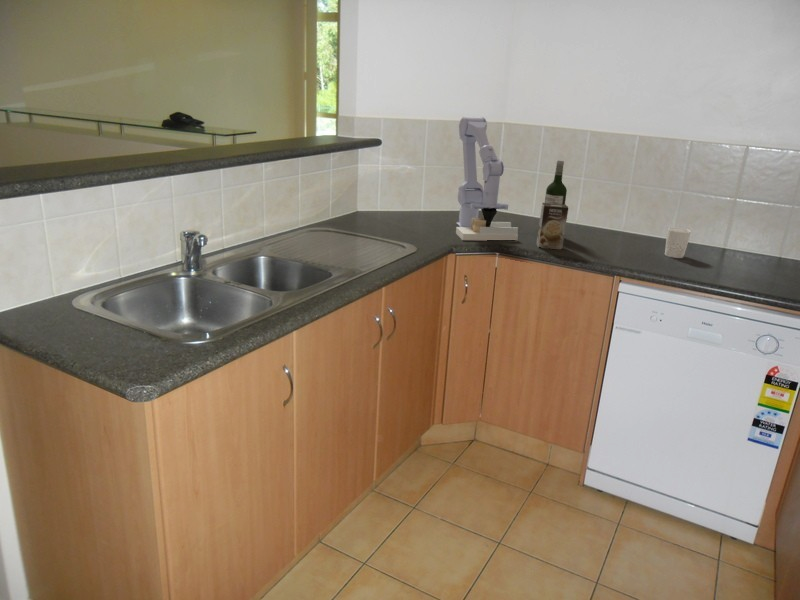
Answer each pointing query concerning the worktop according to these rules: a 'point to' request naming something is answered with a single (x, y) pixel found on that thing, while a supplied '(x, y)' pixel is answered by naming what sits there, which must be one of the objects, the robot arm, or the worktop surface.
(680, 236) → the white cup
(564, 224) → the coffee box
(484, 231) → the white tray
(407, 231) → the worktop surface
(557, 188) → the wine bottle
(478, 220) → the block
